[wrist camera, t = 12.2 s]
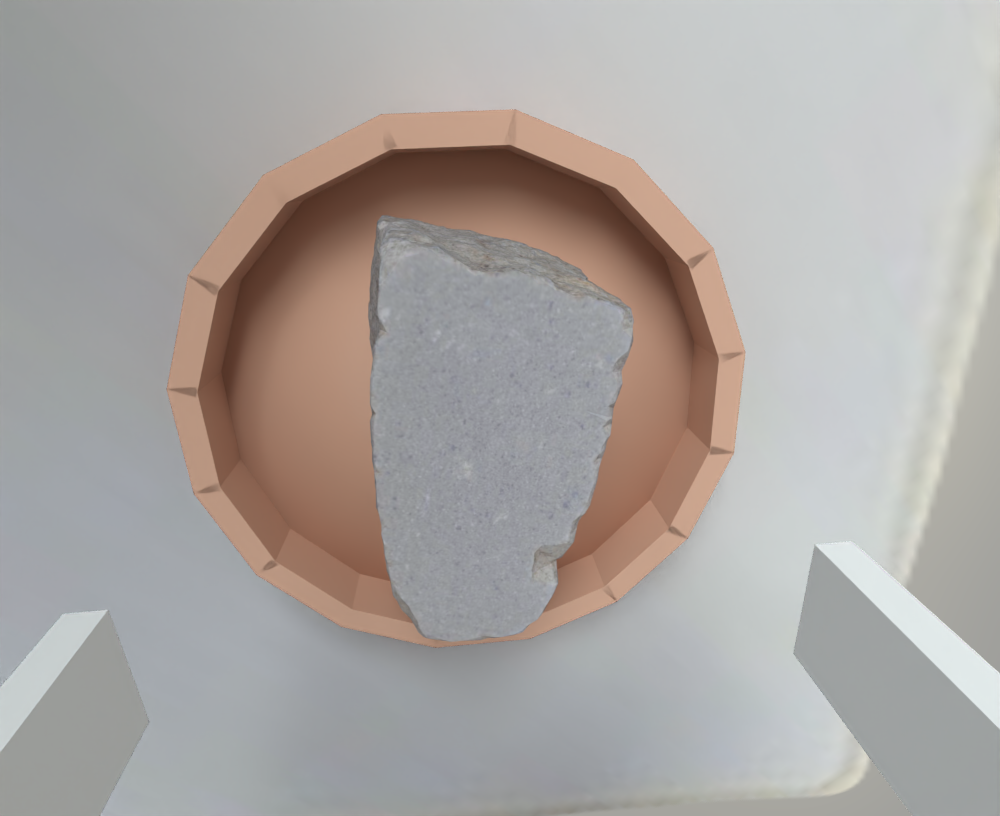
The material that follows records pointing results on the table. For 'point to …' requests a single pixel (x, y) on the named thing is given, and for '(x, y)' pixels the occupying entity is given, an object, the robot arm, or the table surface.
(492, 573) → the decorative stone
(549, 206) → the saucer
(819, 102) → the table surface
